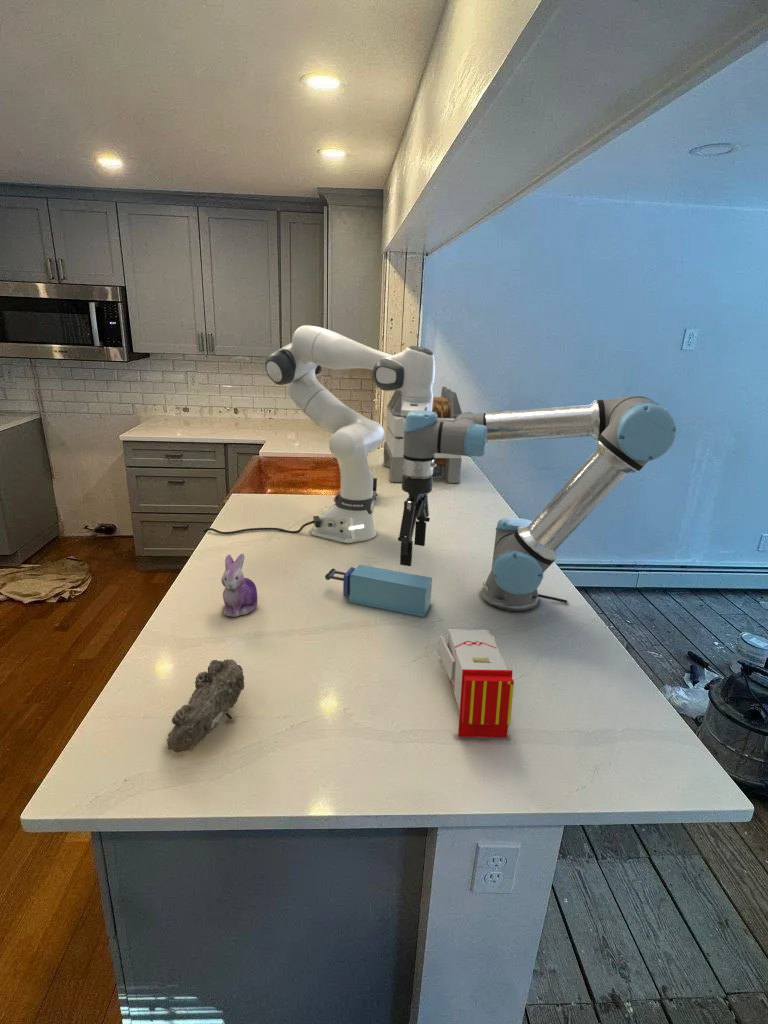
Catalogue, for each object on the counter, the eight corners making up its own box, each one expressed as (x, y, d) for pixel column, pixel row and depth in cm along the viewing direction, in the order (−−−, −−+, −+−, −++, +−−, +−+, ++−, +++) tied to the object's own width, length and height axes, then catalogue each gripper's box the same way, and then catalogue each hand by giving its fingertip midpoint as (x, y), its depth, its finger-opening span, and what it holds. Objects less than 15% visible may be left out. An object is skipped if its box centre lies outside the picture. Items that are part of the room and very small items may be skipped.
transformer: (382, 463, 289) (386, 382, 275) (445, 464, 293) (451, 384, 279) (390, 482, 257) (394, 392, 243) (460, 483, 261) (468, 394, 247)
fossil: (192, 660, 117) (244, 628, 112) (224, 691, 120) (276, 661, 115) (142, 746, 98) (202, 712, 93) (182, 779, 101) (242, 748, 96)
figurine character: (377, 508, 228) (376, 492, 242) (377, 490, 225) (377, 476, 238) (360, 507, 228) (361, 492, 242) (360, 490, 225) (361, 475, 238)
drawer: (323, 592, 155) (323, 571, 153) (331, 584, 160) (332, 563, 158) (412, 610, 148) (413, 588, 146) (418, 600, 153) (419, 579, 151)
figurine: (226, 621, 140) (223, 566, 135) (217, 603, 148) (214, 550, 143) (264, 614, 144) (262, 560, 139) (253, 596, 153) (251, 545, 148)
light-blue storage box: (349, 602, 152) (350, 574, 150) (358, 591, 158) (359, 564, 156) (423, 617, 147) (425, 588, 144) (430, 604, 153) (432, 577, 150)
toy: (488, 613, 130) (523, 677, 101) (484, 667, 133) (517, 744, 104) (435, 612, 130) (455, 676, 101) (432, 666, 133) (451, 743, 103)
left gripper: (411, 400, 171) (408, 444, 176) (399, 410, 152) (396, 460, 157) (432, 401, 170) (429, 446, 175) (422, 412, 151) (419, 462, 156)
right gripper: (419, 491, 126) (414, 577, 133) (443, 464, 148) (437, 539, 156) (387, 486, 128) (384, 571, 135) (415, 461, 151) (411, 535, 158)
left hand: (413, 453), depth 166 cm, fingers open, 8 cm apart
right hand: (412, 554), depth 145 cm, fingers open, 13 cm apart
